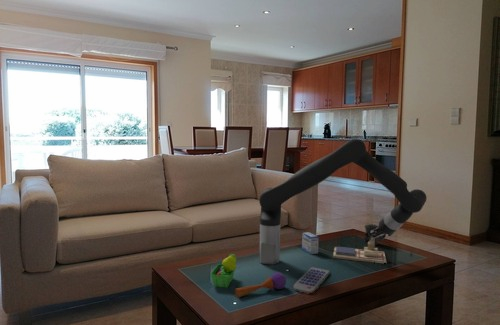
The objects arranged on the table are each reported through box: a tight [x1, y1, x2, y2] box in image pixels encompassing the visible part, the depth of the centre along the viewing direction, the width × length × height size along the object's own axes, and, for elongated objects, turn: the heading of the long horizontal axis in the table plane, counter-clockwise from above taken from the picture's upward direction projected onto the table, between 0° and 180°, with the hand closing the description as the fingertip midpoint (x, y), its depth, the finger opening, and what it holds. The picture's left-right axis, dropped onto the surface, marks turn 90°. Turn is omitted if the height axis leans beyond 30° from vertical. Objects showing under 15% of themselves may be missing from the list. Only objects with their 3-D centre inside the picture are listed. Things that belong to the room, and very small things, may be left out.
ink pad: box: [335, 246, 356, 256], centre depth 171 cm, size 9×9×1 cm
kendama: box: [234, 272, 287, 299], centre depth 130 cm, size 6×6×20 cm
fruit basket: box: [210, 253, 238, 288], centre depth 137 cm, size 11×9×11 cm
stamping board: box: [332, 246, 387, 264], centre depth 170 cm, size 14×24×1 cm, turn 73°
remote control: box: [293, 266, 330, 293], centre depth 140 cm, size 8×23×2 cm, turn 151°
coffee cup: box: [364, 223, 379, 246], centre depth 188 cm, size 8×8×10 cm
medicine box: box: [301, 231, 319, 255], centre depth 175 cm, size 8×4×9 cm, turn 25°
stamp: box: [363, 238, 379, 258], centre depth 168 cm, size 6×6×8 cm
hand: (372, 240), depth 167 cm, fingers open, 8 cm apart
